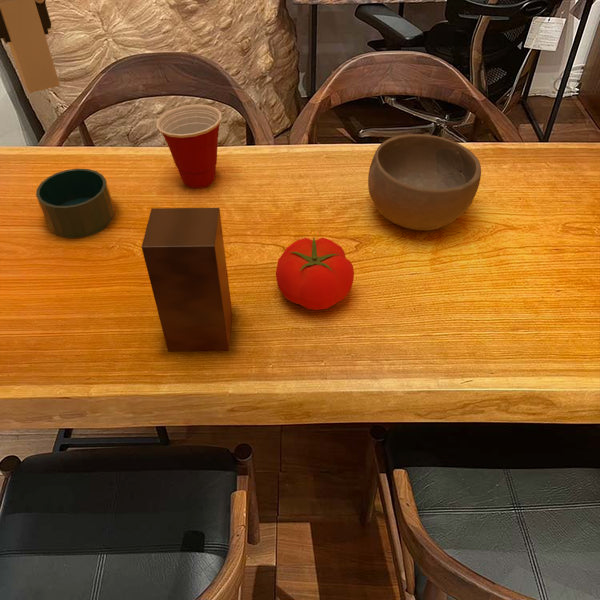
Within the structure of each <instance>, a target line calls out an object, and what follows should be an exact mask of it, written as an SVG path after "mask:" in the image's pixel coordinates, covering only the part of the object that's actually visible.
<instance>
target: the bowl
mask: <svg viewBox="0 0 600 600" xmlns="http://www.w3.org/2000/svg"><path fill="white" fill-rule="evenodd" d="M481 177H482V166H481V162H480V160H479V159H478V157H477V156H476V155H475V154H474V153H473V151H471V150H470V149H468V148H467V147H465V146H464V145H462V144H461V143H458V142H456V141H454V140H451V139H448V138H446V137H441V136H437V135H433V134H421V133H412V134H411V133H408V134H400V135H396V136H392V137H390V138H388V139H386V140H384V141H383V142H382V143H380V145H379V146H378V147H377V149H376V150H375V152H374V155H373V157H372V160H371V164H370V166H369V170H368V176H367V185H368V186H367V187H368V192H369V196H370V200H371V201H372V203H373V205H374V207H375V208H376V209H377V211H378V212H379V213H380V215H382V216H383V217H384V218H385V219H386V220H388V221H390V222H391V223H393V224H395V225H397V226H400V227H403V228H405V229H409V230H415V231H434V230H437V229H440V228H444V227H446V226H448V225H450V224H451V223H453V222H454V221H456V220H457V219H458V218H460V217H461V216H462V215H463V214H464V213H465V212H466V211H467V210H468V208H470V206H471V205H472V204H473V200H474V199H475V197H476V195H477V193H478V190H479V185H480V183H481Z"/></svg>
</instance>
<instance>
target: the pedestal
mask: <svg viewBox="0 0 600 600" xmlns="http://www.w3.org/2000/svg"><path fill="white" fill-rule="evenodd" d="M220 209H221V208H220V207H166V208H165V207H161V208H160V207H156V208H155V207H154V208H151V209H150V213H149V215H148V216H149V217H148V221H147V225H146V227H145V232H144V236H143V239H142V243H141V252H142V255H143V259H144V262H145V263H144V264H145V266H146V271H147V275H148V279H149V282H150V283H149V284H150V286H151V290H152V294H153V298H154V302H155V305H156V311H157V315H158V317H159V321H160V326H161V330H162V333H163V337H164V342H165V346H166V350H167V352H206V351H207V352H217V351H218V352H222V351H226V352H227V351H229V350H230V343H231V342H230V341H231V329H232V317H233V309H232V308H233V307H232V301H231V299H232V298H231V292H230V285H229V275H228V266H227V259H226V258H227V257H226V251H225V241H224V233H223V226H222V218H221V210H220Z"/></svg>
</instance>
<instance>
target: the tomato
mask: <svg viewBox="0 0 600 600" xmlns="http://www.w3.org/2000/svg"><path fill="white" fill-rule="evenodd" d="M354 269H355V268H354V266H353V264H352V262H351V260H349V259H348V258H347V257H346V253H345V250H344V248H343V247H342V246H341V245H339V244H338V243H336V242H334V241H333V240H331V239H329V238H325V237H320V238H318V239H315V237H313V238H312V239H310V238H308V237H304V238H301V239H297V240H296V241H294V242H292V243H291V244H289V245H288V246H287V247H286V248H285V249H284V251H283V253H282V254H281V255H280V256H279V258H278V260H277V264H276V269H275V279H276V283H277V287H278V290H279V291H280V292H281V294H282V295H283V296H284V297H285V299H286V300H288V301H289V302H291V303H293V304H295V305H296V304H297V305H301V306H302V307H304V308H305V309H307V310H314V311H317V310H327V309H329V308H331V307H333V306H334V305H336V304H338V303H340V302H341V301H343V300H345V298H346V297H347V296H348V295H349V293H350V291H351V289H352V287H353V283H354V279H355V278H354V276H355V271H354Z"/></svg>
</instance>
